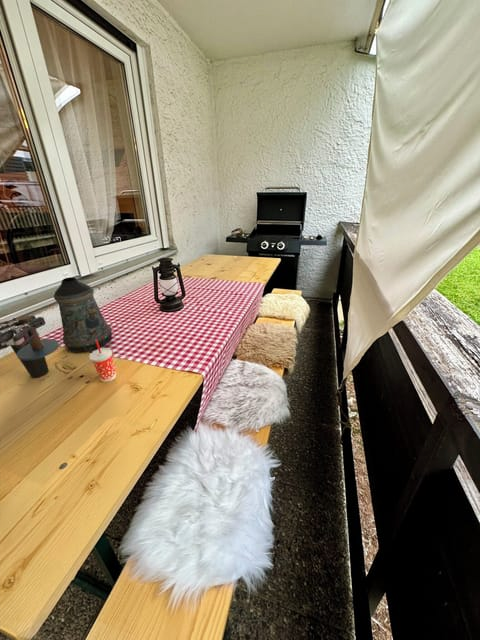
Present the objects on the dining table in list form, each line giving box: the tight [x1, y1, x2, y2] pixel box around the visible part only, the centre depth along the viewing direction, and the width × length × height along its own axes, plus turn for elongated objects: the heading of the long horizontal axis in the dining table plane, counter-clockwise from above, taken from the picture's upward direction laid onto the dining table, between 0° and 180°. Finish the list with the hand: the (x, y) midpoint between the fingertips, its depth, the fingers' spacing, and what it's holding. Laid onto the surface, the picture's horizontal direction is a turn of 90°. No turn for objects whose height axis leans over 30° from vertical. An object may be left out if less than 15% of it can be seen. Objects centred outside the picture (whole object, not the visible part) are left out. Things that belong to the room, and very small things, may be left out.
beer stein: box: [53, 276, 113, 354], centre depth 95 cm, size 16×19×25 cm
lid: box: [16, 314, 60, 361], centre depth 65 cm, size 9×9×10 cm
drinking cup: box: [9, 317, 50, 379], centre depth 79 cm, size 8×8×20 cm
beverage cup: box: [88, 339, 117, 383], centre depth 78 cm, size 6×6×14 cm
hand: (38, 319), depth 66 cm, fingers closed on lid, 2 cm apart
